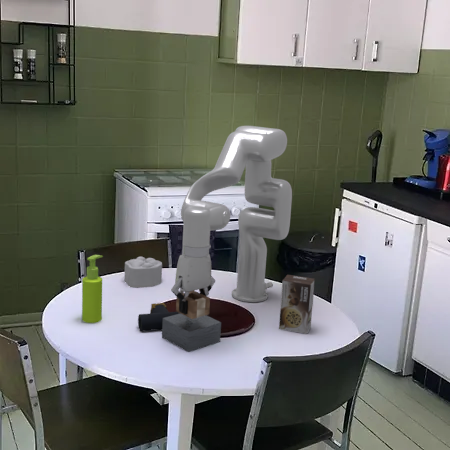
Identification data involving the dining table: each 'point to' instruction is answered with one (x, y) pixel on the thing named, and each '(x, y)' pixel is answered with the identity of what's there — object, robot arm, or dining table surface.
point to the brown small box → (196, 305)
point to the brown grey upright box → (296, 303)
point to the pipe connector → (154, 317)
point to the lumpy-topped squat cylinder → (143, 272)
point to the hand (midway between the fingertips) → (192, 309)
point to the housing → (191, 331)
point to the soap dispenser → (92, 293)
